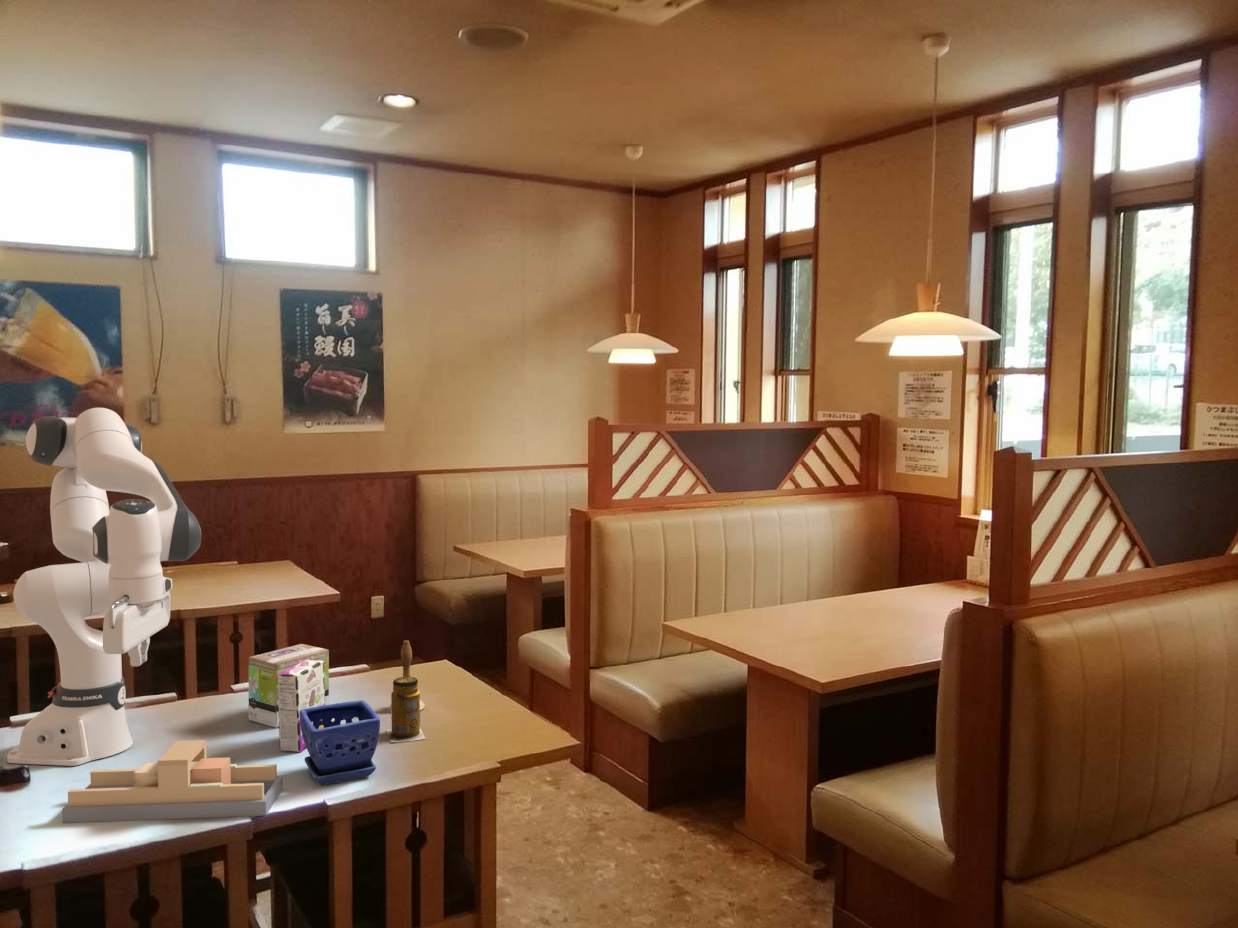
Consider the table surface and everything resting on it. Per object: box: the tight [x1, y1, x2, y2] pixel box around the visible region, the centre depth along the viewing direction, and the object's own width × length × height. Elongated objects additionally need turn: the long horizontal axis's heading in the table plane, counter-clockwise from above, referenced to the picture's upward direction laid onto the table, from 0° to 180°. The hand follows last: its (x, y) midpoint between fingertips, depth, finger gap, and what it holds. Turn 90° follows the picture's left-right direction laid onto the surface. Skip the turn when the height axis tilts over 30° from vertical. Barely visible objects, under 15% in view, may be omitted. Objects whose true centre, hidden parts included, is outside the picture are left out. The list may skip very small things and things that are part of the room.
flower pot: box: [299, 699, 381, 785], centre depth 185 cm, size 13×13×12 cm
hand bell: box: [388, 639, 426, 712], centre depth 223 cm, size 8×8×16 cm
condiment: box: [386, 676, 427, 743], centre depth 205 cm, size 7×8×12 cm
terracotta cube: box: [192, 757, 231, 784], centre depth 170 cm, size 5×5×5 cm
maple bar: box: [134, 762, 198, 787], centre depth 170 cm, size 10×4×4 cm, turn 95°
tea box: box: [248, 643, 330, 729], centre depth 218 cm, size 15×10×15 cm
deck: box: [61, 739, 284, 824], centre depth 170 cm, size 34×12×10 cm, turn 95°
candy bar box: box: [277, 660, 325, 753], centre depth 200 cm, size 11×5×16 cm, turn 168°
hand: (138, 663), depth 174 cm, fingers closed
